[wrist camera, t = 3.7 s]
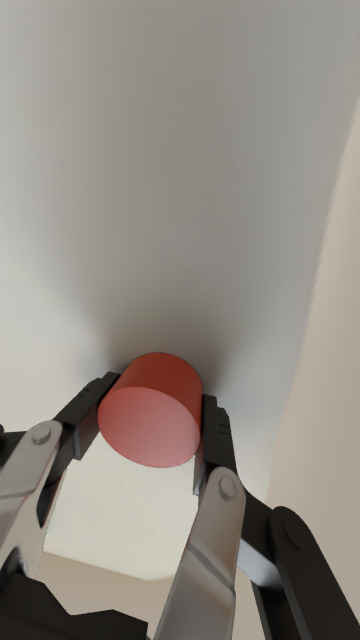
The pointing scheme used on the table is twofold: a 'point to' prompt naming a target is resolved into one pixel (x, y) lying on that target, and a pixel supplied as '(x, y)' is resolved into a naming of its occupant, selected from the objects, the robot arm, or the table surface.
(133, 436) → the cylinder
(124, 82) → the table surface
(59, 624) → the robot arm
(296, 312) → the table surface
